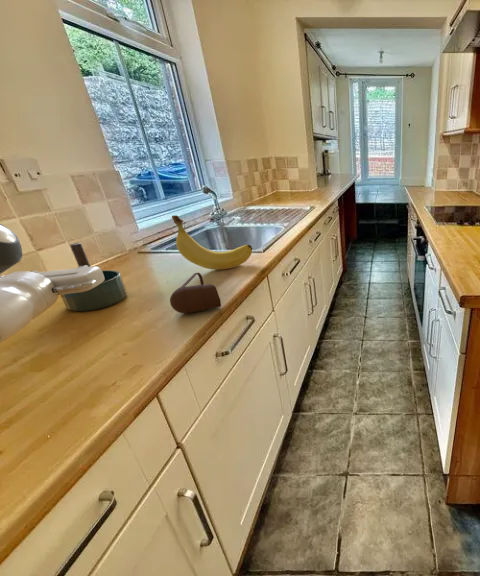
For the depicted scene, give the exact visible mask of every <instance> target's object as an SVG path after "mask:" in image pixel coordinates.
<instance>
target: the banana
mask: <svg viewBox="0 0 480 576" xmlns="http://www.w3.org/2000/svg"><path fill="white" fill-rule="evenodd" d="M171 218H172V221H173V223H174V224H175V225H176V227H177V230H178V231H177V235H176V239H175V243H176V244H175V245H176V248H177V250H178V252H179V253H180V255H181V256H182V257H184V259H185V260H187V261H188V262H190V263H192V264H194V265H196V266H198V267H201V268H204V269H208V270H227V269H232V268H237V267H239V266H240V265H242V264H244V263H246V262H247V261H248V260H249V259H250V257H252V256H251V255H252V254H253V253H252V252H253V246H251V245H250V244H244V245H241V246H238V247H236V248H233V249H231V250H225V251H215V250H210V249H208V248H206V247H204V246H202V245H201V244H200V243H198V242H197V241H196V240H195V239H193V237H192V236H190V234H188V233H187V231H186V230H185V228H184V226H183V223H184V222H185V221H184V220H183V219H181V218H180V217H179V215H172V216H171Z"/></svg>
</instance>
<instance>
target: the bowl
mask: <svg viewBox="0 0 480 576" xmlns="http://www.w3.org/2000/svg"><path fill="white" fill-rule="evenodd" d="M102 272H103V275H104V278H105V280H104V281H103V282H102V283H100V284H99V285H97V286H96V287H94V288H92V289H90V290H88V291H84V292H79V293H71V294H63V295H60V297H61V299H62V301H63V304H64V306H65V308H66V309H67V310H70V311H74V312H89V311H96V310H101V309H104V308H108V307H110V306H113V305H115V304H118V303H119V302H121V301H122V300H123V299H124V298H125V297H126V296H128V291H127V288H126V285H125V282H124V280H123V277H122V274H121V272H120V271H119V270H112V269H105V270H102Z"/></svg>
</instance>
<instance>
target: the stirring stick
mask: <svg viewBox="0 0 480 576" xmlns="http://www.w3.org/2000/svg"><path fill="white" fill-rule="evenodd" d="M69 246H70V249H71V252H72V254H73V256H74V258H75V260H76V263H77V265H78V266H77V267H79V266H85V265H87V266H88V267H92V265H91V263H90V262H89V260H88V257H87V254H86V252H85V249H84V247H83V244H82V243H81V242H74V243H70V244H69Z"/></svg>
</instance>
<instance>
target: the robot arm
mask: <svg viewBox="0 0 480 576" xmlns="http://www.w3.org/2000/svg"><path fill="white" fill-rule="evenodd" d="M22 259H23V248H22V244H21V242H20V240H19V238H18V236H17V234H15V232H13V231H12V229H9V228H8V227H7V226H5V225H4V224H1V223H0V344H1V343H3V342H5V341H7V340H9V339H10V338H12V337H13V336H15V335H16V334H18V333H19V332H20V331H22V330H23V329H25V328H26V327H27V326H28V325H29V324H30V323H31V321H32V320H35V319H36V318H38V317H39V316H41V315H43V314H44V313H45V312H47V310H48V309H50V308H51V307H52V306H54V305H55V303H56V302H57V300H58V298H59V296H61V295H63V294H71V293H79V292H84V291H88V290H90V289H92V288H94V287H96V286H97V285H99V284H100V283H102V282H103V281H104V280H105V278H104V275H103V272H102V271H103V270H102V269H101V267H100V266H98V265H97V266H96V265H95V266H92V265H91V267H88V266H87V265H85V266H77V267H74V268H64V269H56V270H55V269H54V270H46V271H38V270H18V271H13V272H10V273H8V274H5V275H1V274H3V273H4V272H6V271H8V270H9V269H11V268H12V267H13V266H15V265H17V264H18V263H20V261H21V260H22Z"/></svg>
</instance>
